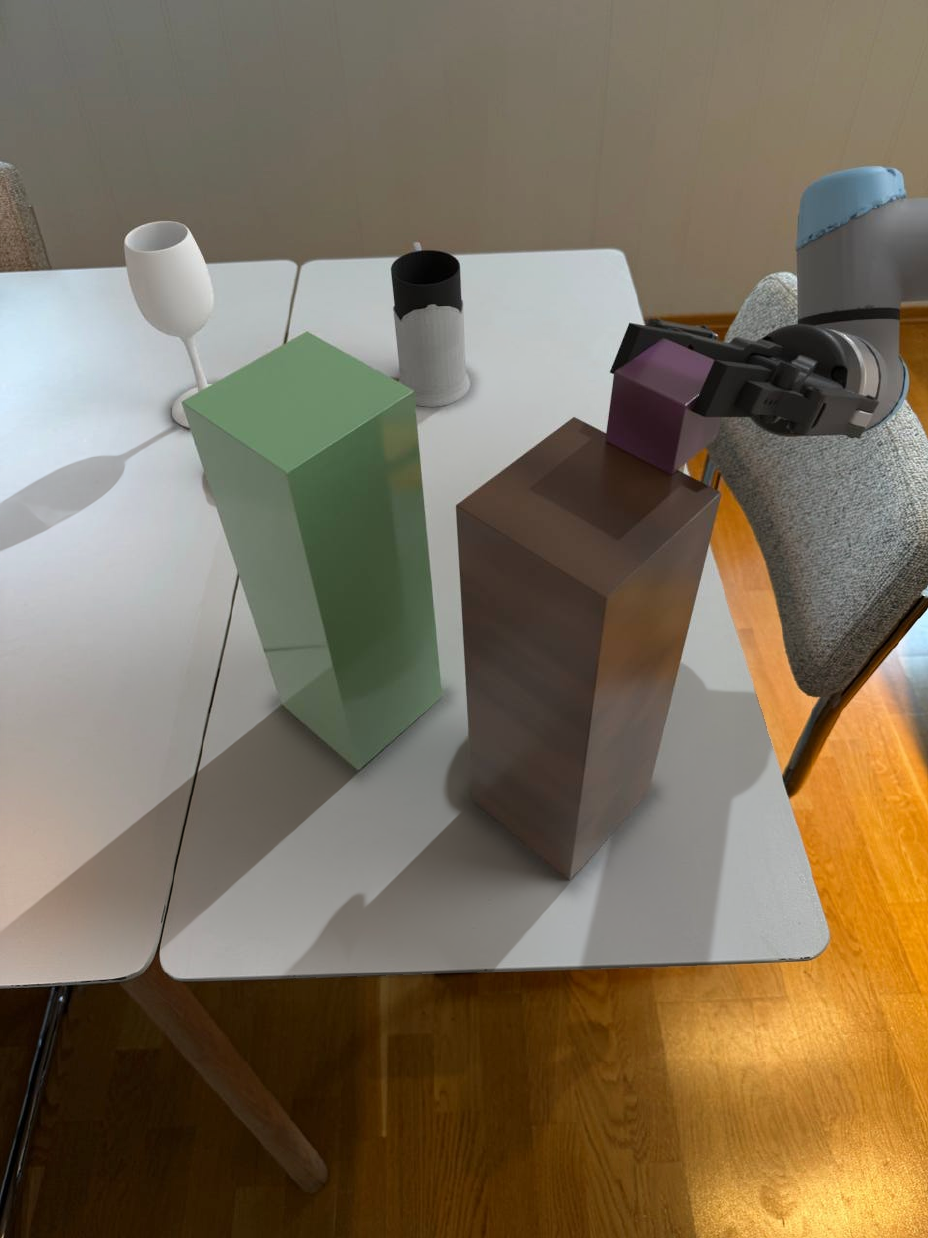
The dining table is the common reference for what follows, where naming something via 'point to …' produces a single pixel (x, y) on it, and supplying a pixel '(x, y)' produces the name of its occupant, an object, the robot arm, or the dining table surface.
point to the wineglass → (171, 289)
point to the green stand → (327, 536)
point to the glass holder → (430, 326)
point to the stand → (575, 633)
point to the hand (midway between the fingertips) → (666, 369)
